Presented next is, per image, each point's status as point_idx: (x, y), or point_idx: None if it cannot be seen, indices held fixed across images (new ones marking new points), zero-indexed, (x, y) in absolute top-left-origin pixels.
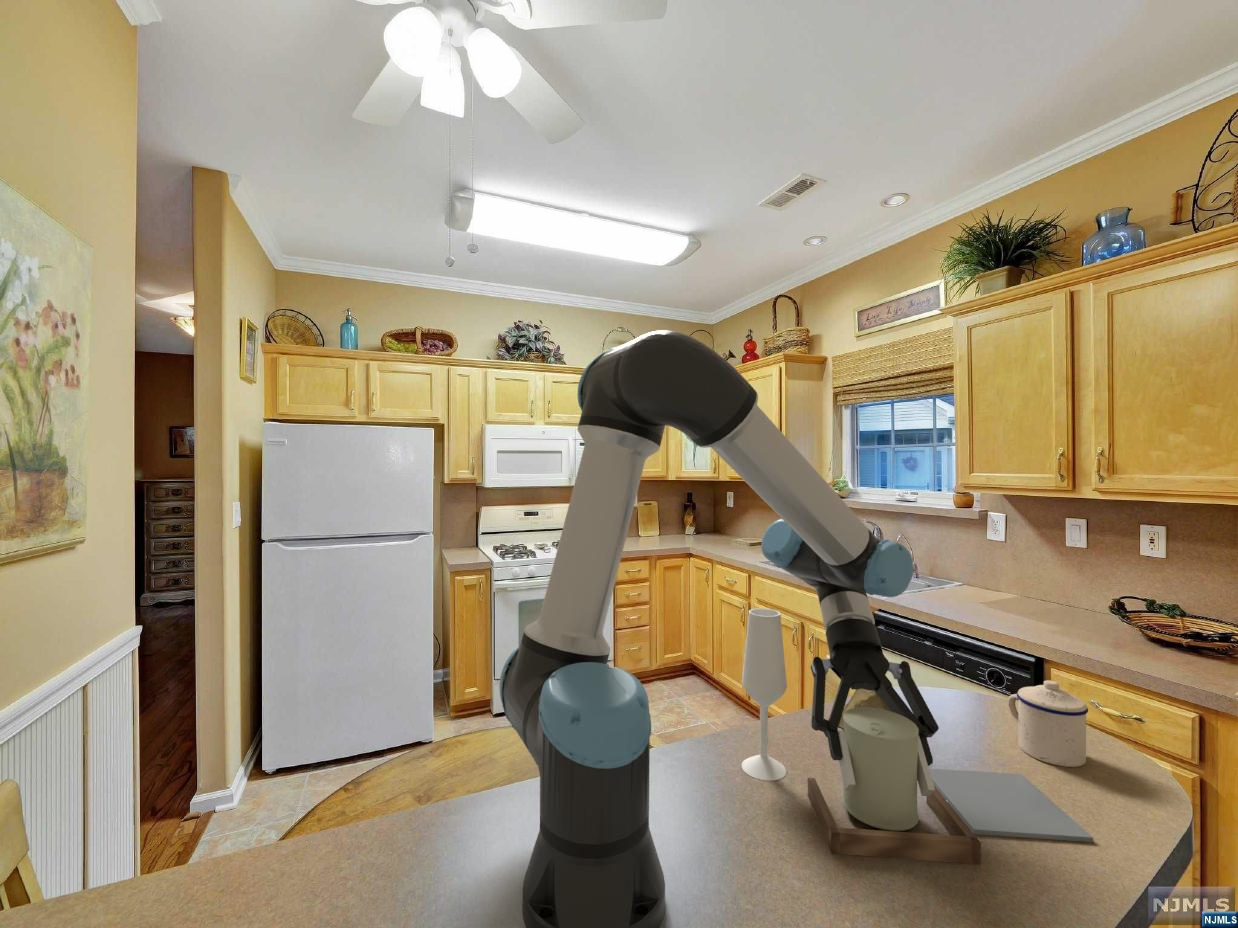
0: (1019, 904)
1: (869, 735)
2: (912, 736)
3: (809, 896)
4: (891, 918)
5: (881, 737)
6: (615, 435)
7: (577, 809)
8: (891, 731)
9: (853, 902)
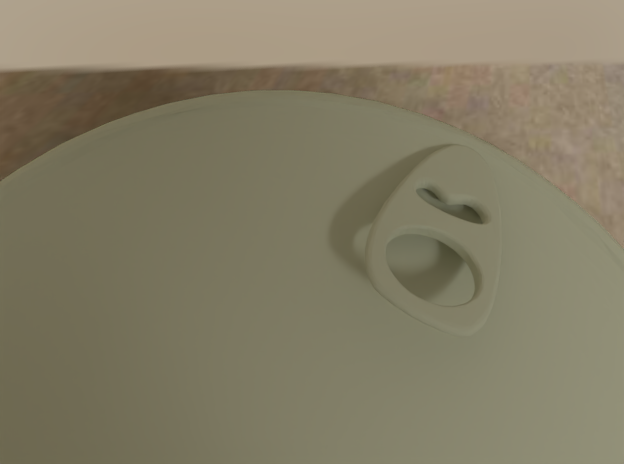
0: (17, 104)
1: (502, 156)
2: (76, 139)
3: (536, 111)
4: (368, 65)
5: (407, 111)
6: None
7: None
8: (259, 241)
9: (442, 99)
